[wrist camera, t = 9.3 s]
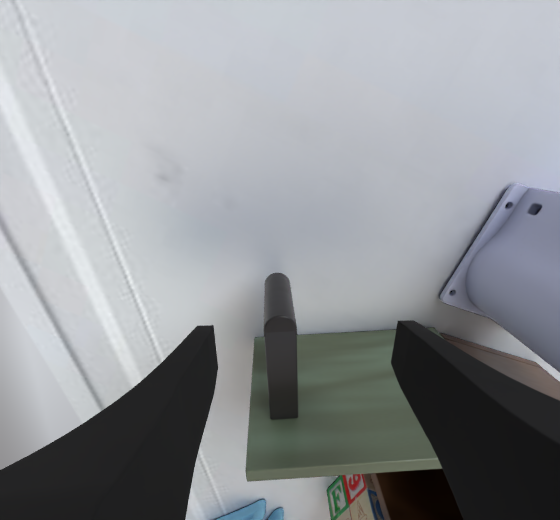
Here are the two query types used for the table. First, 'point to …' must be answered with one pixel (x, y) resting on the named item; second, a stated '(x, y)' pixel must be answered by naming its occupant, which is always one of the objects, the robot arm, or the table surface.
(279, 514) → the chair
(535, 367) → the cupboard
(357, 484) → the stack of blocks
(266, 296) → the cupboard door
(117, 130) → the table surface
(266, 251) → the table surface
